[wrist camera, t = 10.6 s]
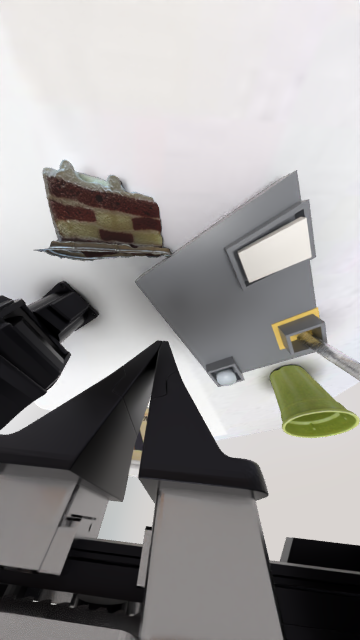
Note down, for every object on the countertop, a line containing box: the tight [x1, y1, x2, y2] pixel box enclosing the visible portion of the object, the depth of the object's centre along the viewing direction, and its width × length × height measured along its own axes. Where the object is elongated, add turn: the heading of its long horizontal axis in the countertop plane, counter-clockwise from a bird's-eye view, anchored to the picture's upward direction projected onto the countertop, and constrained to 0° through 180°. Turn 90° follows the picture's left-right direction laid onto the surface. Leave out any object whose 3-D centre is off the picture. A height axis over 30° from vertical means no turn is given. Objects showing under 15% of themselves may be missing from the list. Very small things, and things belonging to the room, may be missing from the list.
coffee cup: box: [128, 408, 149, 477], centre depth 37 cm, size 9×9×12 cm
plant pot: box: [270, 365, 360, 438], centre depth 24 cm, size 9×9×9 cm
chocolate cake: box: [35, 160, 172, 261], centre depth 15 cm, size 10×7×12 cm
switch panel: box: [135, 170, 327, 387], centre depth 19 cm, size 17×22×4 cm
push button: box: [216, 368, 237, 386], centre depth 23 cm, size 3×3×1 cm
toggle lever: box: [297, 331, 360, 381], centre depth 14 cm, size 3×3×11 cm
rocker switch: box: [237, 217, 312, 283], centre depth 13 cm, size 5×3×1 cm, turn 122°
